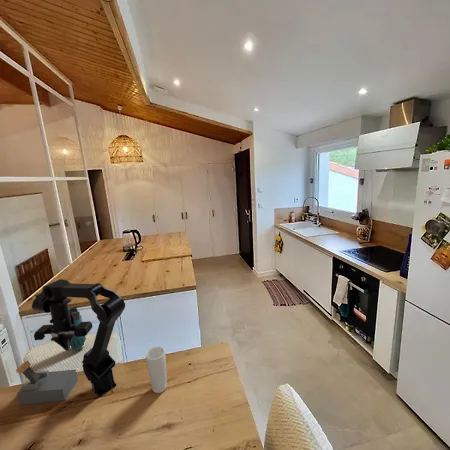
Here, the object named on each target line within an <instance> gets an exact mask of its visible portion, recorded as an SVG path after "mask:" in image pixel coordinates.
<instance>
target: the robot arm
mask: <svg viewBox="0 0 450 450" xmlns="http://www.w3.org/2000/svg"><path fill="white" fill-rule="evenodd" d="M98 296H102V297H104V298H107V299H108V300H106V301H105V302H103V303H102V304H100V303H98V300H97V297H98ZM71 298H76V299H77V298H79V299H81V298H83V299H87V300H88V301H89V303H90V308H91V311H92V312H93V313H95V315H96V319H97V320H98V321H99V324H98V328H97V332H96V335H95V338H94V342H93V346H92V347H91V348H90V349H89V350H88V351H86V352H85V353H84V354H83V360H82V361H81V363H82V371H83V374H84V375H85V377H86V379H87V380H88V381H89V382H90V384H91V387H92V392H93V393H94V394H96V396H98V397H99V398H101V397H102V396H103V395H105V394H106V393H108V392H109V391H110V390H112V389H113V388H115V387H116V386H117V383H116V382H115V379H114V374H113V368H114V367H115V366H116V360H115V359H113V357H112V356H111V355H110V352H109V350H108V347H109V344H110V340H111V338H112V337H111V336H112V334H113V331H114V327H115V323H116V322H117V320H118V319H119V318H120V316H121V315H122V313H123V312H124V310H125V308H126V302H125V300H124V299H123V298H122V297H121V296H120V295H119V294H118V293H117V292H116V291H114V290H113V289H110V288H107V287H105V286H104V285H103V284H102V283H72V282H70V281H69V280H66V279H63V278H60V279H57V280H55V281H52V282H50V283H47V284H46V285H43V286H42V291H41V292H39V293H38V294H36V295H35V298H34V299H33V301H32V303H31V309H32V310H33V311H35V312H39V313H45V314H50V317H51V319H50V320H49V324H43V325H41V326H40V327H39V328H38V329H37V330H36V331H35V332H34V334H33V339H34V341H42V340H44V339H45V337H46V335H50V336H51V338H50V341H52V342H55V343H56V344H57V345H59V346H60V347H61V348H62V349H63V350H65V351H67V352H69V350H70V349H71V347H70V345H71V341H72V337H73V336H74V335H75V336H77V337H82V336H85V337H86V336H87V335H88V333H90V331H91V330H92V329H93V323H92V322H91V321H90V320H89V321H82V322H81V323H80V324H79V325H78V326H77V325H73V324H75V323H76V322H75V321H76V320H79V319H80V315H81V314H80V311H78V310H77V311H78V312H72V311H69V309H70V308H69V307H70V306H69V303H71V302H72V299H71Z"/></svg>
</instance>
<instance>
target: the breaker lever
mask: <svg viewBox="0 0 450 450" xmlns="http://www.w3.org/2000/svg"><path fill="white" fill-rule="evenodd" d="M31 365H32V364H31V362H30V361H29V360H26V361H24V362H22V363H21V364H20V365H19V366H18V367H17V369H15V371H16V373H18V375H20V374H23V375H24V377H26V379H28V380H30V381H31V384H35V383H36V381H37V380H38V379H39V378H40V375H37V374H36V373H35V372H36V371H34V369H33V368H32V367H31Z"/></svg>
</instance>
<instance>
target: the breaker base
mask: <svg viewBox="0 0 450 450" xmlns="http://www.w3.org/2000/svg"><path fill="white" fill-rule="evenodd" d="M34 372H35V373H36V374H37V375H40V378H39V379H38V380H37V381H36V383H35V384H31V381H30V380H29V379H28V380H27V381H25V383H24V384H22V385H21V388H20V389H19V390H18V391H17V392H16V394H17V398H18V402H19V405H20V406H23V405H24V406H25V405H34V404H44V403H56V402H65V401H66V400H67V398H68V397H69V395H70V393H71V392H72V390H73V389H74V388H75V386H76V384H77V383H78V381H79V379H78V373H77V369H75V368H74V369H66V370H65V369H64V370H57V371H55V370H53V371H49V370H38V371H34Z"/></svg>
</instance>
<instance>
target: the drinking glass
mask: <svg viewBox="0 0 450 450" xmlns="http://www.w3.org/2000/svg"><path fill="white" fill-rule="evenodd" d="M166 357H167V356H166V350H165V348H164V347H161V346H154V347H151V348H150V349H148V350H147V351H146V353H145V362H146V368H147V371H148V376H149V381H150V384H151V389H152V391H153V393H156V394H160V393H162V392H164V391H165V390H166V389H167V387H168V381H167V358H166Z"/></svg>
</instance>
